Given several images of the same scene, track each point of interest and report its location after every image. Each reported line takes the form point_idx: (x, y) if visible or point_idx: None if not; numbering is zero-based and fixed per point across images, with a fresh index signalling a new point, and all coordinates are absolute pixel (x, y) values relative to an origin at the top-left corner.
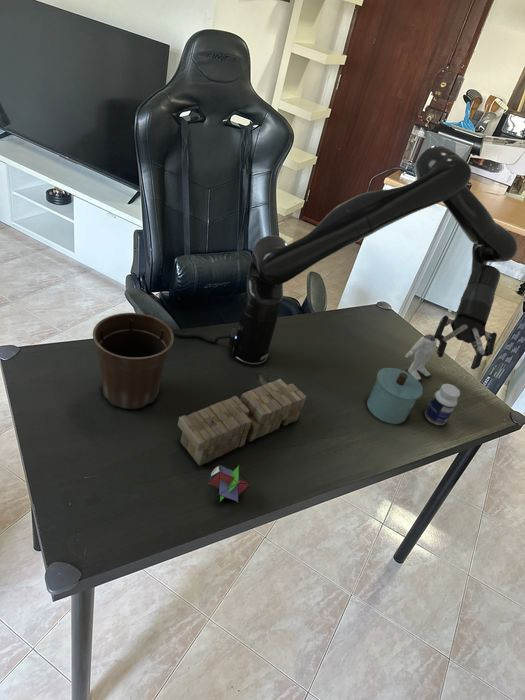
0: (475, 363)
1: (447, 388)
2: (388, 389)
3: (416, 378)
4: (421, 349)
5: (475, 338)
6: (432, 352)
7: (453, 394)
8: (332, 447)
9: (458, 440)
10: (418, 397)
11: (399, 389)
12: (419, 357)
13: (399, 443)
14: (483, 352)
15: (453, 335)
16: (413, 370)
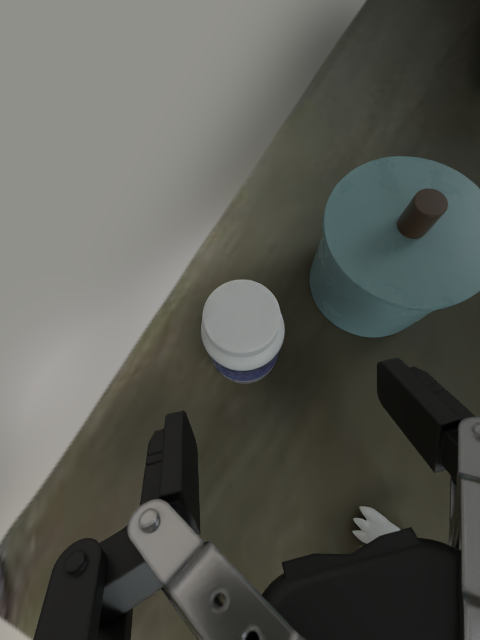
0: (178, 427)
1: (256, 310)
2: (420, 165)
3: (367, 511)
4: None
5: (263, 600)
6: None
7: (225, 294)
8: (392, 96)
9: (165, 312)
10: (326, 204)
11: (394, 191)
12: None
13: (289, 195)
14: (138, 525)
15: (474, 483)
16: None
